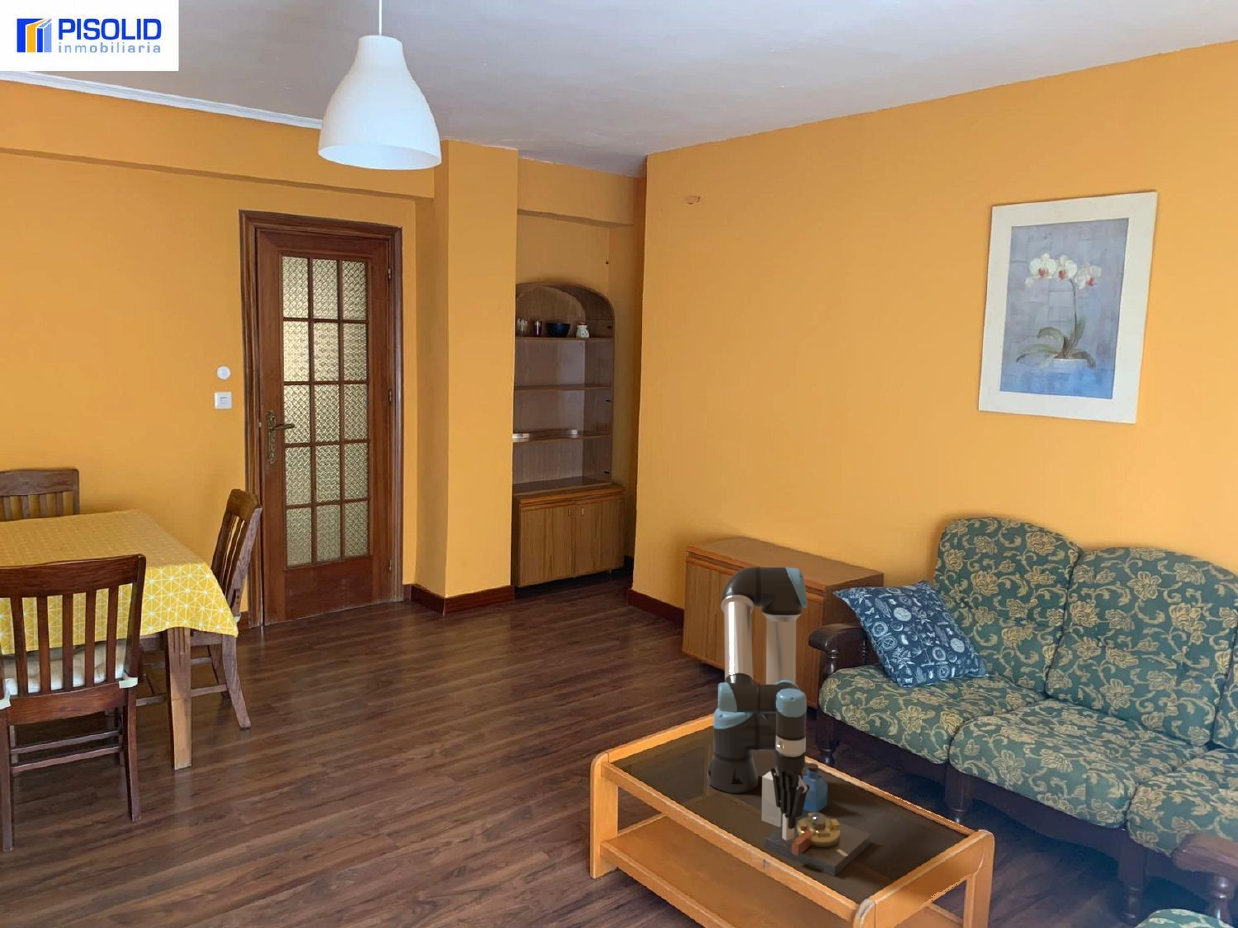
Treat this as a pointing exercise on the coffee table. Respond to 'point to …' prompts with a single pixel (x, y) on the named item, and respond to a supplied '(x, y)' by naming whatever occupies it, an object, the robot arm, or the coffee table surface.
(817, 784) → the perfume bottle
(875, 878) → the coffee table surface
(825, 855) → the flange plate
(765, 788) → the small box
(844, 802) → the coffee table surface
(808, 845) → the gold tabbed disc
